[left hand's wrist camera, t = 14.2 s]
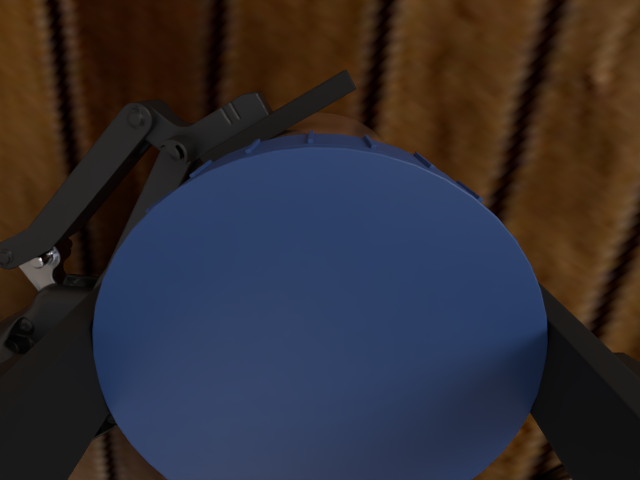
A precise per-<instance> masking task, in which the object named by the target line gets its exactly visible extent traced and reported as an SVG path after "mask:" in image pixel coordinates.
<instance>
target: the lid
mask: <svg viewBox="0 0 640 480" xmlns="http://www.w3.org/2000/svg"><path fill="white" fill-rule="evenodd" d="M189 176H190V179H188V180H187V181H186V182H184V183H183V184H182V185H181V186H179V187H178V188H177V189H176V190H174V191H173V192H172V191H170V192H168V193H167V194H166V195H165V196H163V197H162V198H161V199H159V200H158V201H157V202H155V203H154V204H153V205H152V206H150V207H149V208H148V209H147V210H146V211H145V212H146V213H147V214H146V215H145V216H144V217H143V218H142V219H141V220H140V221H139V222H138V223H137V224H136V226H135V227H134V228H133V229H132V230H131V231H130V233H129V234H128V236H127V237H126V238H125V240H124V241H123V243H122V244H121V246H120V247H119V249H118V250H117V251H116V253H115V255H114V257H113V259H112V261H111V263H110V265H109V267H108V269H107V271H106V273H105V276H104V278H103V280H102V284H101V287H100V291H99V294H98V297H97V301H96V304H95V312H94V320H93V328H92V340H93V356H94V361H95V365H96V370H97V375H98V379H99V383H100V387H101V391H102V393H103V396H104V399H105V402H106V404H107V406H108V408H109V410H110V412H111V414H112V416H113V418H114V419H115V421H116V423H117V425H118V426H119V428H120V429H121V431H122V432H123V434H124V435H125V436H126V438H127V439H128V441H129V442H130V443H131V445H132V446H133V447H134V448H135V449H136V450H137V451H138V452H139V453H140V455H141V456H142V457H143V458H144V459H145V460H146V461H147V462H148V463H149V464H150V465H151V466H153V467H154V468H155V469H156V470H157V471H158V472H159V473H161V474H162V475H163V476H164V477H165V478H167V479H168V480H472V479H473V478H474V477H476V476H477V475H478V474H480V473H481V472H482V471H483V470H485V469H486V468H487V467H488V466H489V465H490V464H491V463H492V462H493V461H494V460H495V459H496V458H497V457H498V456H499V455H500V454H501V453H502V452H503V451H504V449H505V448H506V447H507V446H508V444H509V443H510V442H511V441H512V439H513V438H514V437H515V436H516V434H517V433H518V431H519V429H520V428H521V426H522V425H523V423H524V421H525V420H526V418H527V416H528V415H529V413H530V411H531V408H532V406H533V404H534V401H535V399H536V397H537V394H538V391H539V386H540V382H541V378H542V374H543V369H544V365H545V360H546V355H547V346H548V335H547V316H546V312H545V307H544V302H543V298H542V293H541V289H540V287H539V284H538V282H537V279H536V277H535V274H534V272H533V269H532V267H531V264H530V263H529V261H528V259H527V257H526V256H525V254H524V252H523V251H522V249H521V247H520V246H519V244H518V242H517V240H516V238H515V237H514V236H512V234H511V233H510V232H509V231H508V230H507V228H506V227H505V226H504V225H503V224H502V222H501V221H500V220H499V219H498V218H497V217H496V216H495V215H494V214H493V213H492V212H491V211H490V210H488V209H487V208H486V207H485V206H484V205H483V204H482V203H481V201H482V200H483V199H482V198H481V197H480V196H478V195H477V194H476V193H474V192H473V191H472V190H470V189H469V188H468V187H466V186H465V185H464V184H462V183H461V182H460V181H457V182H455V181H454V180H452V179H451V178H450V177H448V176H447V175H446V174H444V173H443V172H441V171H440V170H438V169H437V168H435V166H434V165H433V164H431V163H430V162H429V161H427V160H426V159H425V158H424V157H422V156H421V155H420V154H419V153H417V152H415V154H414V155H412V154H410V153H408V152H406V151H404V150H402V149H400V148H397V147H394V146H391V145H388V144H384V143H381V142H378V141H375V140H372V139H371V138H370V137H369V136H368V135H364V138H361V137H355V136H349V135H343V134H316V133H314V130H310V131H309V134H301V135H291V136H282V137H278V138H274V139H270V140H266V141H262V142H260V139H256V140H255V141H254V142H253V143H252V144H251V145H249V146H246V147H244V148H241V149H239V150H236V151H234V152H231V153H229V154H227V155H225V156H223V157H221V158H220V159H218V160H216V161H214V162H213V163H212V161H211V160H209V161H207V162H206V163H205V164H203V165H202V166H201V167H199V168H198V169H197V170H195V171H194V172H193V173H191V174H190V175H189Z"/></svg>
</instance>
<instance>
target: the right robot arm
mask: <svg viewBox="0 0 640 480" xmlns="http://www.w3.org/2000/svg"><path fill="white" fill-rule="evenodd" d="M354 90H356V87H355V85H354V83H353V81H352V79H351V77H350V75H349V73H348V71H347V70H344V71H342V72H340V73H338V74H337V75H335V76H333V77H332V78H330V79H328V80H326V81H325V82H323V83H321V84H320V85H318V86H316V87H315V88H313V89H311V90H310V91H308V92H306V93H304V94H303V95H301V96H299V97H298V98H296V99H294V100H293V101H291V102H289V103H288V104H286V105H284V106H282V107H281V108H279V109H277V110H276V111H274V112H273V111H272V109H271V108H270V106H269V104H268V102H267V101H266V99H265V97H264V95H263V94H262V92H261V91H259V92H252V93H246V94H242V95H241V96H239V97H237V98H236V99H234V100H233V101H231V102H229V103H228V104H226V105H224V106H223V107H221V108H219V109H218V110H216V111H214V112H213V113H211V114H209V115H208V116H206V117H205V118H203V119H201V120H200V121H198V122H196V123H188V122H185V121H183V120H182V119H180V118H179V117H178V116H177V115H175V114H174V113H173V112H172V111H171V108H170V107H169V106H168V104H167V103H165V102H164V101H162V100H157V99H155V100H147V101H140V102H134V103H130V104H127V105H126V106H124V107H123V108H122V110H121V111H120V112H119V113H118V115H117V116H116V117H115V118H114V120H113V121H112V122H111V124H110V125H109V126H108V127H107V129H106V130H105V131H104V132H103V134H102V135H101V136H100V137H99V139H98V140H97V141H96V143H95V144H94V145H93V146H92V148H91V149H90V150H89V151H88V153H87V154H86V155H85V157H84V158H83V159H82V160H81V162H80V163H79V164H78V165H77V167H76V168H75V169H74V170H73V172H72V173H71V174H70V176H69V177H68V178H67V179H66V181H65V182H64V183H63V184H62V186H61V187H60V188H59V190H58V191H57V192H56V193H55V195H54V196H53V197H52V198H51V200H50V201H49V202H48V203H47V205H46V206H45V207H44V209H43V210H42V211H41V212H40V214H39V215H38V216H37V217H36V219H35V220H34V221H33V222H32V224H31V225H30V226H29V228H27V229H26V230H24V231H22V232H20V233H18V234H16V235H14V236H12V237H10V238H8V239H6V240H4V241H3V242H1V243H0V267H2V268H4V269H13V268H16V267H18V266H19V267H20V269H21V270H22V271H23V272H24V274H25V275H26V276H27V277H28V279H29V280H30V281H31V282H32V284H33V285H34V286H35V287H36V289H37V290H38V293H37V294H36V296H35V298H34V300H33V303H32V304H31V305H29V306H28V307H26V308H24V309H22V310H21V311H19V312H17V313H15V314H13V315H12V316H10V317H8V318H6V319H5V320H3V321H1V322H0V364H1V363H2V362H4V361H6V360H8V359H9V358H11V357H13V356H15V355H16V354H26V353H27V352H28V351H29V350H30V349H31V348H32V347H33V346H34V345H35V344H36V343H38V342H39V341H40V340H41V339H42V338H43V337H44V336H45V335H46V334H47V333H48V332H49V331H50V330H51V329H52V328H53V327H54V326H55V325H57V324H58V323H59V322H60V321H61V320H62V319H63V318H64V317H65V316H66V315H67V314H68V313H69V312H70V311H71V310H72V309H73V308H74V307H76V306H77V305H78V304H79V303H80V302H81V301H82V300H83V299H84V298H85V297H86V296H87V295H88V294H89V293H90V292H91V291H92V290H93V289H95V288H96V287H97V286H98V285H99V284H100V283H101V282H102V280H103V278H104V276H105V273H106V271H107V269H108V267H109V265H110V263H111V261H112V259H113V257H114V255H115V253H116V251H117V250H118V249H119V247H120V246H121V244H122V243H123V241H124V240H125V238H126V237H127V236H128V234H129V233H130V231H131V230H132V229H133V228H134V227H135V226H136V224H137V223H138V222H139V221H140V220H141V219H142V218H143V217H144V216H145V215H146V214H147V213H146V212H145V211H146V210H147V209H148V208H149V207H150V206H152V205H153V204H154V203H155V202H157V201H158V200H159V199H161V198H162V197H163V196H165V195H166V194H167V193H168V192H170V191H172V192H173V191H174V190H176V189H177V188H178V187H179V186H181V185H182V184H183V183H184V182H186V181H187V180H188V179H190V176H189V175H190V174H191V173H193V172H194V171H195V170H197V169H198V167H199V165H200V163H201V161H202V162H203V164H205V163H206V162H207V161H209V160H211V161H212V163H213V162H214V161H216V160H218V159H220V158H221V157H223V156H225V155H227V154H229V153H231V152H234V151H236V150H239V149H241V148H244V147H246V146H249V145H251V144H252V143H253V142H254V141H255V140H256V139H260V142H262V141H266V140H269V139H271V138H273V137H274V136H276V135H278V134H279V133H281V132H283V131H285V130H286V129H288V128H290V127H292V126H293V125H295V124H297V123H298V122H300V121H302V120H304V119H305V118H307V117H309V116H311V115H312V114H314V113H316V112H317V111H319V110H321V109H323V108H324V107H326V106H328V105H330V104H331V103H333V102H335V101H337V100H338V99H340V98H342V97H343V96H345V95H347V94H349V93H350V92H352V91H354ZM151 145H153V146H154V147H156V148H157V149H158V150H159V151H160V153H159V155H158V157H157V159H156V161H155V164H154V166H153V168H152V170H151V172H150V174H149V177H148V179H147V181H146V183H145V185H144V188H143V190H142V192H141V194H140V196H139V198H138V201H137V203H136V205H135V207H134V209H133V211H132V214H131V216H130V218H129V220H128V222H127V224H126V227H125V229H124V231H123V233H122V235H121V237H120V240H119V242H118V244H117V246H116V248H115V250H114V253H113V255H112V257H111V259H110V261H109V263H108V265H107V267H106V269H105V270H104V272H103V273H102V274H101V276H100V277H96V276H87V275H77V274H66V273H65V271H64V269H63V264H64V261H65V260H66V259H67V258H68V257H69V256H70V254H71V247H72V241H71V240H70V239H69V238H68V237H70V236H72V235H73V234H75V233H76V232H77V231H78V230H80V229H81V228H82V227H83V226H84V225H85V224H86V223H87V222H88V221H89V220H90V218H91V217H92V216H93V215H94V214H95V212H96V211H97V210H98V209H99V208H100V206H101V205H102V204H103V203H104V202H105V200H106V199H107V198H108V197H109V196H110V194H111V193H112V192H113V191H114V190H115V188H116V187H117V186H118V185H119V184H120V182H121V181H122V180H123V179H124V178H125V176H126V175H127V174H128V173H129V172H130V171H131V169H132V168H133V167H134V166H135V165H136V163H137V162H138V161H139V160H140V159H141V157H142V156H143V155H144V154H145V153H146V151H147V150H148V149H149V148H150V147H151ZM115 426H117V423H116V421H115V419H114V418H113V416H112V414H111V412H109V414H108V415H107V417H106V419H105V420H104V422H103V423H102V425H101V427H100V428H99V430H98V431H97V433H96V435H95V436H94V438H93V439H92V440H94V439H96V438H98V437H100V436H101V435H103V434H105V433H106V432H108V431H109V430H111V429H112V428H114V427H115Z"/></svg>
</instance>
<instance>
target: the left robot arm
mask: <svg viewBox="0 0 640 480" xmlns="http://www.w3.org/2000/svg"><path fill="white" fill-rule="evenodd" d="M537 282H538V281H537ZM101 284H102V282H101V283H100V284H99V285H98V286H97V287H96V288H95V289H93V290H92V291H91V292H90V293H89V294H88V295H87V296H86V297H85V298H84V299H83V300H82V301H81V302H80V303H79V304H78V305H77V306H76V307H74V308H73V309H72V310H71V311H70V312H69V313H68V314H67V315H66V316H65V317H64V318H63V319H62V320H61V321H60V322H59V323H58V324H57V325H55V326H54V327H53V328H52V329H51V330H50V331H49V332H48V333H47V334H46V335H45V336H44V337H43V338H42V339H41V340H40V341H39V342H38V343H36V344H35V345H34V346H33V347H32V348H31V349H30V350H29V351H28V352H27V353H26V354H16V355H15V356H13V357H11V358H9V359H8V360H6V361H4V362H2V363H1V364H0V480H68V478H69V476H70V475H71V473H72V472H73V470H74V468H75V467H76V465H77V463H78V462H79V460H80V459H81V457H82V455H83V454H84V452H85V451H86V449H87V447H88V446H89V444H90V443H91V441H92V439H93V438H94V436H95V435H96V433H97V431H98V430H99V428H100V427H101V425H102V423H103V422H104V420H105V419H106V417H107V415H108V414H109V412H110V410H109V408H108V406H107V404H106V402H105V399H104V396H103V393H102V391H101V387H100V383H99V379H98V375H97V370H96V365H95V361H94V356H93V340H92V328H93V320H94V312H95V304H96V301H97V297H98V294H99V291H100V287H101ZM538 284H539V287H540V289H541V293H542V298H543V302H544V307H545V312H546V316H547V335H548V346H547V355H546V360H545V365H544V369H543V374H542V378H541V382H540V386H539V391H538V394H537V397H536V399H535V401H534V404H533V406H532V408H531V411H530V413H531V414H532V416H533V418H534V419H535V421H536V422H537V424H538V426H539V427H540V429H541V430H542V432H543V434H544V435H545V437H546V439H547V440H548V442H549V443H550V445H551V447H552V448H553V450H554V451H555V453H556V455H557V456H558V458H559V459H560V461H561V463H562V464H563V466H564V467H561V468H559V469H557V470H555V471H553V472H551V473H550V474H548V475H546V476H545V477H543V478H542V479H540V480H640V362H638V361H637V360H635V359H633V358H631V357H630V356H628V355H626V354H624V353H613V352H611V351H610V350H609V349H608V348H607V347H606V346H605V345H604V344H603V343H602V342H601V341H600V340H599V339H598V338H597V337H596V336H595V335H594V334H592V333H591V332H590V331H589V330H588V329H587V328H586V327H585V326H584V325H583V324H582V323H581V322H580V321H579V320H578V319H577V318H576V317H575V316H573V315H572V314H571V313H570V312H569V311H568V310H567V309H566V308H565V307H564V306H563V305H562V304H561V303H560V302H559V301H558V300H557V299H556V298H554V297H553V296H552V295H551V294H550V293H549V292H548V291H547V290H546V289H545V288H544V287H543V286H542V285H541V284H540V283H539V282H538Z"/></svg>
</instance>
